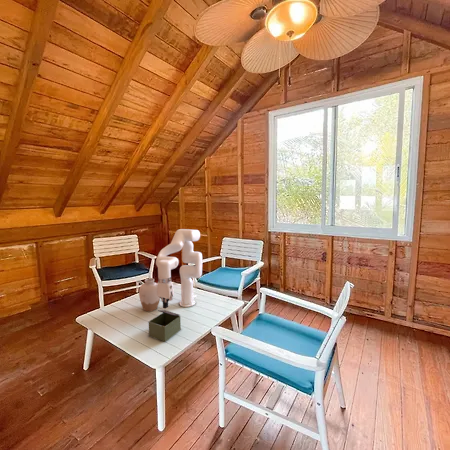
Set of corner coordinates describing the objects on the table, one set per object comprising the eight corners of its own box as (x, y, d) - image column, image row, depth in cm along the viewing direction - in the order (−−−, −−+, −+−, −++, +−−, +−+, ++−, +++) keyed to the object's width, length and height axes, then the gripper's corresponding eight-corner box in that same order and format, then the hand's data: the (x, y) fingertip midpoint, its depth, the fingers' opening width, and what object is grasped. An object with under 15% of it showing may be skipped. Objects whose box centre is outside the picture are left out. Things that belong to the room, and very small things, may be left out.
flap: (164, 310, 167) (164, 310, 167) (180, 315, 161) (180, 314, 161) (157, 310, 161) (157, 310, 161) (173, 315, 155) (173, 315, 155)
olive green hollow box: (165, 324, 169) (164, 311, 168) (180, 329, 163) (180, 316, 162) (148, 335, 156) (148, 321, 154) (165, 341, 150) (164, 327, 148)
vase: (162, 302, 201) (161, 275, 197) (160, 312, 185) (159, 283, 182) (141, 304, 198) (140, 276, 195) (138, 314, 183) (136, 284, 179)
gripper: (178, 279, 155) (178, 307, 158) (159, 275, 162) (160, 302, 165) (170, 284, 149) (171, 312, 151) (151, 279, 155) (152, 307, 158)
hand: (165, 307), depth 158 cm, fingers closed
